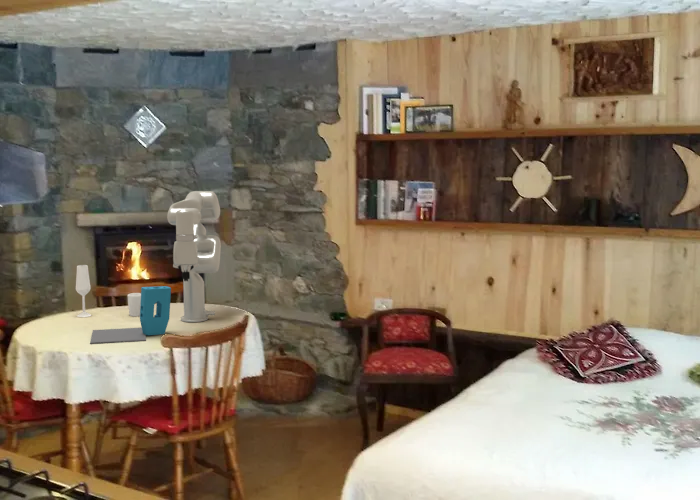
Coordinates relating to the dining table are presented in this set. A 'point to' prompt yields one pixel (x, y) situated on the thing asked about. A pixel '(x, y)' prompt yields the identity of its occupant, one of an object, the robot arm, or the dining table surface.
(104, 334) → the gray square mat
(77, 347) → the dining table surface
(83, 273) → the champagne flute
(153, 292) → the block
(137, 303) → the white cup
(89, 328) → the dining table surface
